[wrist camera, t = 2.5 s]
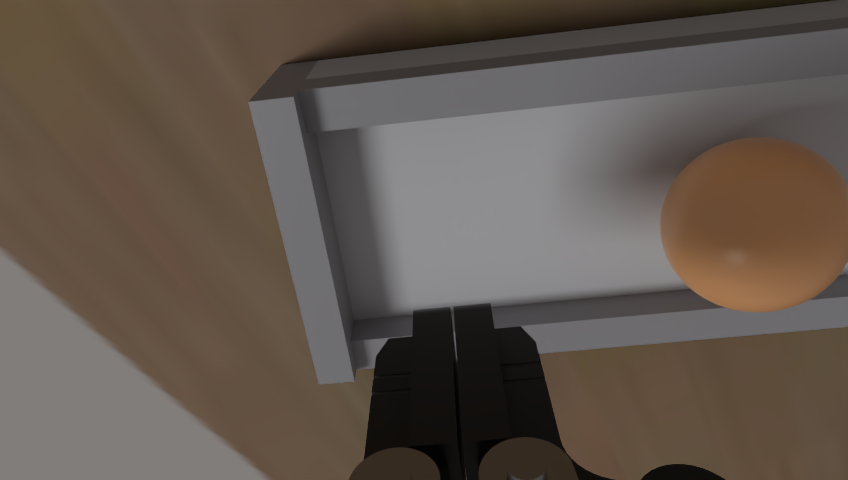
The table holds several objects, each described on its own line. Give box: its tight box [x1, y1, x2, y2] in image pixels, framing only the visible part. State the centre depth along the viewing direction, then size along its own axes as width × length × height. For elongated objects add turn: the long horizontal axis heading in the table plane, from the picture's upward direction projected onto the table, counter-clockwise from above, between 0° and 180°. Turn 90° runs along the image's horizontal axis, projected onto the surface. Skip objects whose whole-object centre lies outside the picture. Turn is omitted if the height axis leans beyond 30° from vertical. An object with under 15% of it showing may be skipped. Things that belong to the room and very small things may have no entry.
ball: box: [660, 137, 848, 312], centre depth 15 cm, size 4×4×4 cm
